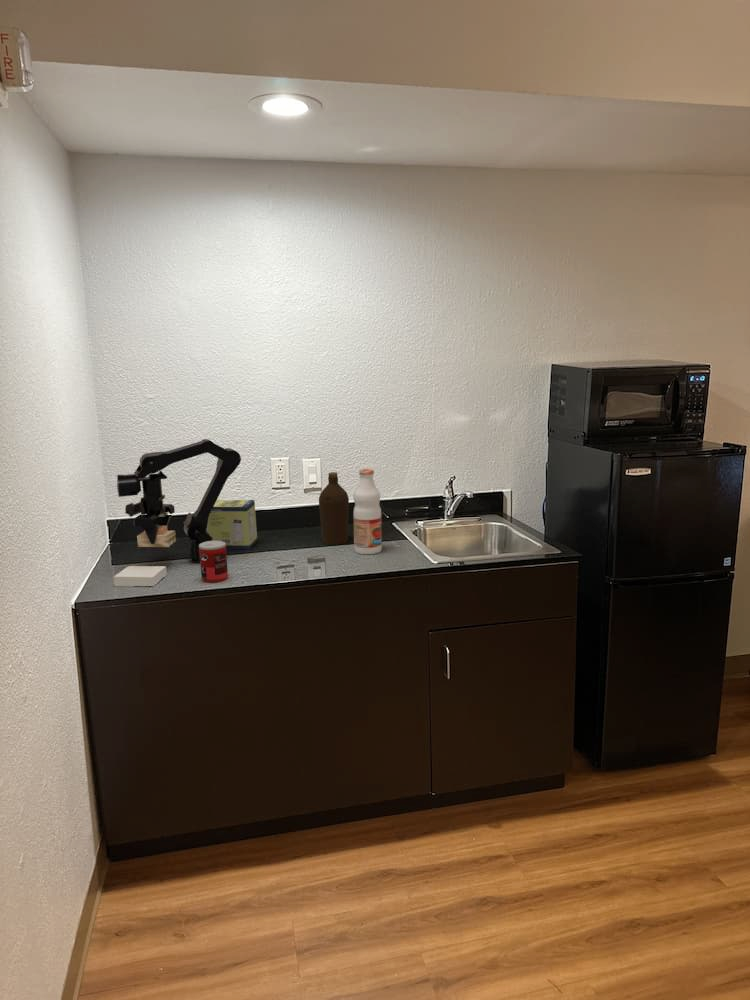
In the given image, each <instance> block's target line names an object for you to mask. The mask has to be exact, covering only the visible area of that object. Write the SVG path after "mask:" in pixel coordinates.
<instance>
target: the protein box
mask: <svg viewBox="0 0 750 1000" xmlns="http://www.w3.org/2000/svg"><path fill="white" fill-rule="evenodd" d="M255 501H256V500H255V499H227V500H226V499H217V500H216V502H215V504H214V506H213V509H212V511H211V513H210V515H209V518H208V524H207V528H206V531H207V532H208V533H209V534H210V536H211V537H212V538H213V539H212V541H223V542H225V544H226V550H241V549H245V551H246V550H248V551H249V550H251V548H252V547H254V545H255V544H256V543H257V542H258V534H257V516H256V505H255V504H256V503H255Z"/></svg>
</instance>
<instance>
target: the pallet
mask: <svg viewBox="0 0 750 1000" xmlns="http://www.w3.org/2000/svg"><path fill="white" fill-rule="evenodd" d="M176 537H177V535H176V530H168V532H167V533H165V534H164V535H157V536H156V540H155V544H151V543H150V541H149V538H148V536H147V535H145V532H144V531H142V532H141V533H139V534H137V535H136V538H137V539H136V541H137V547H139V548H141V547H142V548H169V547H170V546H172V545H173V544H174V543H176V542H177V538H176Z"/></svg>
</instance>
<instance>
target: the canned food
mask: <svg viewBox="0 0 750 1000" xmlns="http://www.w3.org/2000/svg"><path fill="white" fill-rule="evenodd" d="M199 555H200V562H199V565H200V575H201V576H200V577H201V579H202V581H203V582H205V583H220V582H223V580H224V581H226V580H227V579H228V576H229V573H228V572H229V570H228V557H227V549H226V544H225V542H223V541H207V542H203V543H201V544H199Z"/></svg>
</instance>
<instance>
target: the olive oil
mask: <svg viewBox="0 0 750 1000" xmlns="http://www.w3.org/2000/svg"><path fill="white" fill-rule="evenodd" d="M338 477H339V476H338V472H334V471H333V472H332V471H331V472H328V479H327V480H328V484H327V485H326V486H325V487H324V488H323V490H321V492H320V493H319V497H318V508H319V517H320V529H321V531H320V532H321V541H322V543H323V544H324V545H329V546H335V545H337V546H338V545H344V544H346V543H348V542H349V506H350V505H349V504H350V502H349V495H348V493H347V491H346V490H345V489H344V488H343V486H341V485H340V483H339V478H338Z"/></svg>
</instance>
